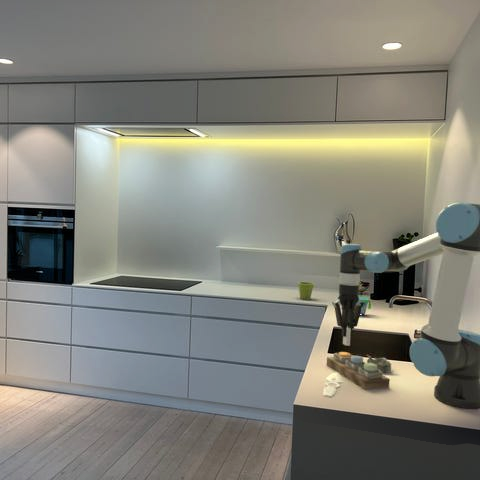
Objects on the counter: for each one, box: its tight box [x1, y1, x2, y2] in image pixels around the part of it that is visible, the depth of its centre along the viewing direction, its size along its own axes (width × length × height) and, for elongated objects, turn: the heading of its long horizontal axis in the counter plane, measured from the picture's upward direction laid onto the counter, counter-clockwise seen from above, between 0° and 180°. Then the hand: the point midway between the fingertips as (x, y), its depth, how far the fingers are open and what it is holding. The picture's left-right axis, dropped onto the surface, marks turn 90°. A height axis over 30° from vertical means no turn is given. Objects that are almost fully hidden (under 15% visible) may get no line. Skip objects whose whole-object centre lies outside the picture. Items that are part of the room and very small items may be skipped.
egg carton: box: [366, 354, 392, 373], centre depth 182 cm, size 11×8×4 cm
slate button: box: [351, 355, 364, 365], centre depth 172 cm, size 4×4×2 cm
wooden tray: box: [326, 352, 390, 390], centre depth 172 cm, size 26×10×5 cm, turn 19°
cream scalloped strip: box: [322, 371, 345, 398], centre depth 164 cm, size 6×28×1 cm, turn 161°
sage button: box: [364, 362, 377, 373], centre depth 164 cm, size 4×4×2 cm
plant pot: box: [297, 281, 315, 301], centre depth 326 cm, size 12×12×11 cm
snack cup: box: [355, 296, 372, 315], centre depth 282 cm, size 16×10×10 cm
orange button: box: [338, 351, 351, 358], centre depth 180 cm, size 4×4×2 cm
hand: (346, 344), depth 179 cm, fingers closed
